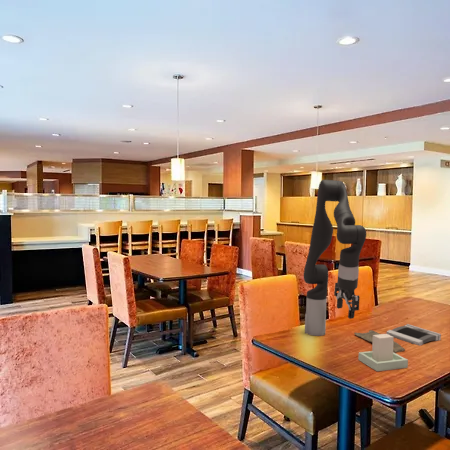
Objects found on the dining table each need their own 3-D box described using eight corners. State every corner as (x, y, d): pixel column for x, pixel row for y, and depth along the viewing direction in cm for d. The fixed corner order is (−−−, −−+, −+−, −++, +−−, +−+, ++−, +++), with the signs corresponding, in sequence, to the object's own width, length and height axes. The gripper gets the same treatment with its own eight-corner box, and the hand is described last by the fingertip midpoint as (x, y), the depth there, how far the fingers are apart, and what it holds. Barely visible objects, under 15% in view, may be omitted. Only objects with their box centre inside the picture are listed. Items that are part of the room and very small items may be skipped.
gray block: (371, 359, 157) (372, 335, 156) (385, 358, 158) (386, 333, 158) (378, 363, 153) (379, 338, 152) (392, 362, 155) (393, 337, 154)
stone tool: (352, 335, 190) (390, 355, 166) (352, 329, 189) (390, 348, 166) (371, 333, 193) (411, 352, 170) (371, 327, 193) (411, 345, 170)
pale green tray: (358, 359, 159) (358, 352, 159) (387, 356, 163) (387, 349, 163) (376, 371, 148) (377, 363, 148) (407, 367, 152) (407, 359, 152)
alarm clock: (441, 334, 184) (419, 336, 176) (440, 343, 184) (418, 346, 176) (408, 324, 199) (386, 325, 191) (407, 333, 199) (385, 335, 191)
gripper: (330, 269, 159) (327, 306, 163) (349, 283, 145) (346, 323, 150) (346, 267, 160) (344, 303, 165) (367, 281, 147) (363, 320, 152)
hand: (345, 312), depth 157 cm, fingers open, 8 cm apart
